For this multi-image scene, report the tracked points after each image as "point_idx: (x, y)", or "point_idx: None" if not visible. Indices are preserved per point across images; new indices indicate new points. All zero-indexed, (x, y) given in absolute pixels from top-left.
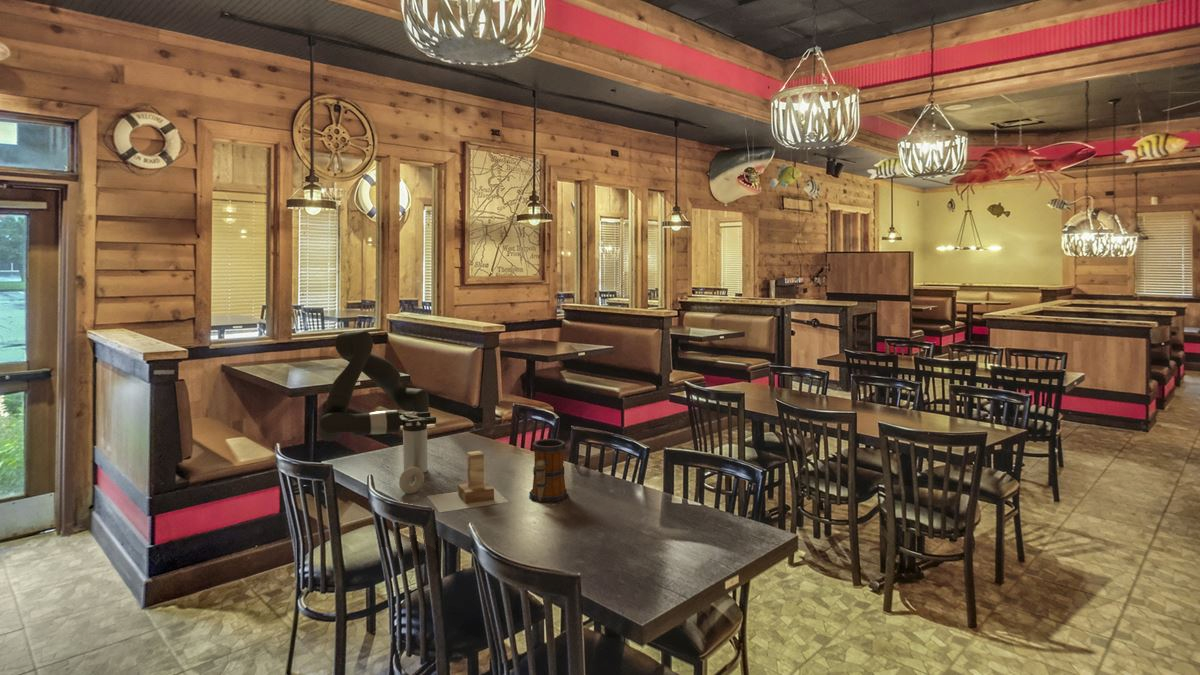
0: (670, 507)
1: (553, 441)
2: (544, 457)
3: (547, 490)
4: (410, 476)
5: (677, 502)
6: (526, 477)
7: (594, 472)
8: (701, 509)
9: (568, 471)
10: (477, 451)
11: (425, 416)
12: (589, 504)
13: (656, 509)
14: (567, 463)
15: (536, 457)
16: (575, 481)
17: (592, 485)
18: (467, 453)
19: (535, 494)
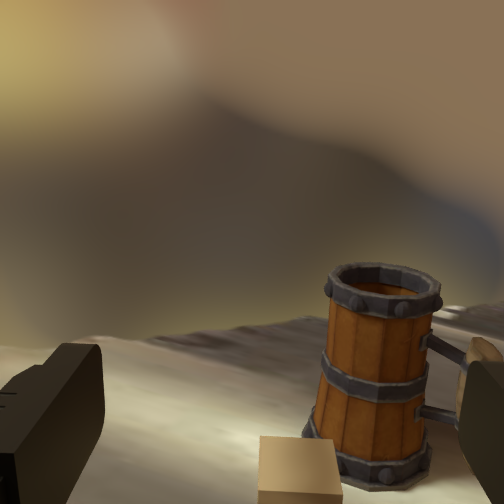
0: (477, 327)
1: (345, 273)
2: (427, 328)
3: (422, 425)
4: None
5: (449, 315)
6: (141, 427)
7: (212, 330)
8: (491, 310)
9: (169, 353)
10: (268, 447)
11: (74, 440)
12: (441, 398)
13: (488, 340)
14: (110, 338)
15: (398, 340)
16: (253, 366)
17: (300, 356)
18: (261, 496)
19: (395, 460)
